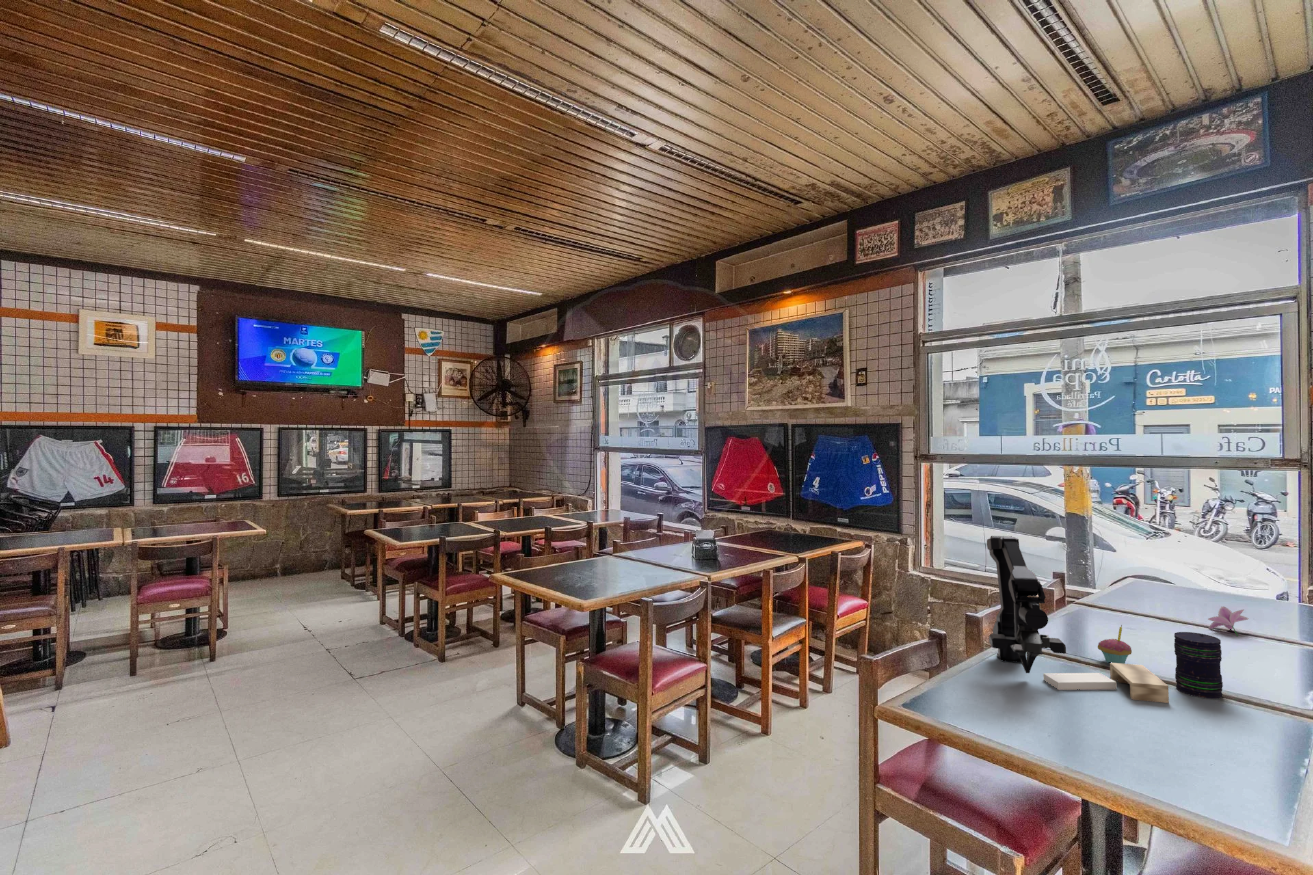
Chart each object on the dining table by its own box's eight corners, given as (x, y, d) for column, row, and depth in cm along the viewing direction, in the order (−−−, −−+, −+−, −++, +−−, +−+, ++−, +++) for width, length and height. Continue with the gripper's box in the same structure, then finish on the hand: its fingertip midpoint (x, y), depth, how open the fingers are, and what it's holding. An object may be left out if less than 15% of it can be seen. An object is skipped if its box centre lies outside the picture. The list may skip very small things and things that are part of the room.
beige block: (1132, 699, 165) (1132, 682, 165) (1110, 677, 180) (1109, 662, 180) (1168, 702, 162) (1168, 685, 163) (1143, 680, 178) (1142, 665, 178)
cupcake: (1126, 659, 195) (1124, 621, 195) (1137, 668, 187) (1135, 629, 187) (1094, 656, 198) (1093, 619, 198) (1103, 665, 190) (1102, 626, 190)
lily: (1257, 636, 217) (1243, 609, 222) (1258, 631, 209) (1244, 602, 214) (1214, 642, 224) (1201, 615, 229) (1214, 636, 216) (1201, 609, 221)
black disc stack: (1212, 701, 163) (1211, 645, 163) (1168, 689, 171) (1166, 635, 172) (1230, 694, 167) (1228, 638, 167) (1185, 682, 176) (1184, 629, 176)
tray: (1058, 691, 173) (1058, 682, 173) (1043, 681, 180) (1043, 673, 180) (1116, 690, 172) (1116, 681, 172) (1099, 681, 179) (1099, 672, 179)
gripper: (995, 624, 176) (996, 679, 176) (1071, 629, 170) (1073, 686, 169) (988, 614, 186) (989, 666, 186) (1059, 618, 180) (1061, 672, 180)
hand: (1027, 672), depth 180 cm, fingers closed
